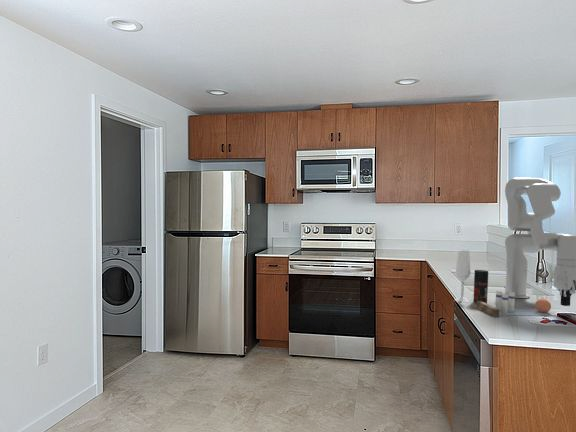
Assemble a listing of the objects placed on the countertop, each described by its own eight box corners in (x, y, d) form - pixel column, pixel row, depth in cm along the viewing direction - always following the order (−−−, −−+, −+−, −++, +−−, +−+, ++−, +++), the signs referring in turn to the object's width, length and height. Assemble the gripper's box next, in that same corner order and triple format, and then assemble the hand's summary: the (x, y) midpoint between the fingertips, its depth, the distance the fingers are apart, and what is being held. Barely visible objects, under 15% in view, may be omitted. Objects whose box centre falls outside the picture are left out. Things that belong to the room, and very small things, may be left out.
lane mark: (484, 308, 200) (484, 308, 200) (539, 309, 201) (539, 309, 201) (497, 315, 189) (497, 314, 189) (555, 315, 190) (555, 315, 190)
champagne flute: (470, 300, 217) (472, 250, 216) (467, 302, 211) (469, 251, 210) (456, 298, 221) (458, 249, 220) (452, 300, 215) (454, 250, 214)
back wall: (476, 307, 202) (476, 300, 202) (480, 307, 202) (481, 300, 202) (494, 316, 186) (494, 309, 186) (499, 316, 186) (499, 309, 186)
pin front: (506, 311, 196) (507, 292, 195) (512, 311, 196) (513, 292, 196) (509, 312, 193) (510, 293, 193) (515, 312, 193) (516, 293, 193)
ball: (531, 310, 198) (532, 297, 198) (545, 311, 198) (545, 297, 198) (540, 314, 192) (540, 300, 192) (553, 314, 192) (554, 300, 192)
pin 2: (500, 312, 193) (500, 293, 193) (505, 312, 193) (506, 293, 193) (503, 314, 191) (503, 294, 190) (508, 314, 191) (509, 294, 190)
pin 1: (494, 309, 198) (494, 290, 198) (499, 309, 198) (500, 290, 198) (497, 311, 196) (497, 291, 195) (502, 311, 196) (503, 291, 195)
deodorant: (475, 300, 217) (476, 269, 216) (488, 302, 213) (489, 270, 212) (471, 302, 212) (472, 270, 211) (484, 304, 208) (486, 272, 208)
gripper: (547, 261, 202) (546, 301, 202) (569, 265, 187) (568, 309, 187) (563, 261, 202) (562, 302, 203) (587, 265, 187) (585, 309, 188)
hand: (565, 305), depth 195 cm, fingers closed
